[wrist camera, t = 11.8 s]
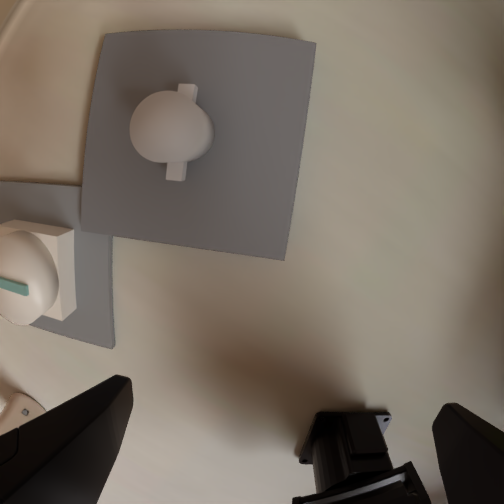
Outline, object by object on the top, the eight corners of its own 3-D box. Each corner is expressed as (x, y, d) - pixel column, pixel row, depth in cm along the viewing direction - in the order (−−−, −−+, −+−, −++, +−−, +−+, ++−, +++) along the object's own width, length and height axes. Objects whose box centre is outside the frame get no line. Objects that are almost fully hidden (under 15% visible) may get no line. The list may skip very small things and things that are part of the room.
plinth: (282, 252, 19) (290, 288, 14) (92, 226, 19) (42, 249, 14) (312, 51, 16) (330, 12, 10) (115, 41, 16) (72, 10, 10)
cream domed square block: (74, 229, 18) (34, 247, 14) (76, 308, 20) (44, 338, 16) (14, 219, 18) (-26, 233, 14) (19, 291, 20) (-15, 314, 16)
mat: (115, 345, 21) (112, 349, 21) (7, 312, 21) (2, 315, 20) (114, 188, 18) (110, 189, 18) (-4, 180, 18) (-9, 181, 17)
